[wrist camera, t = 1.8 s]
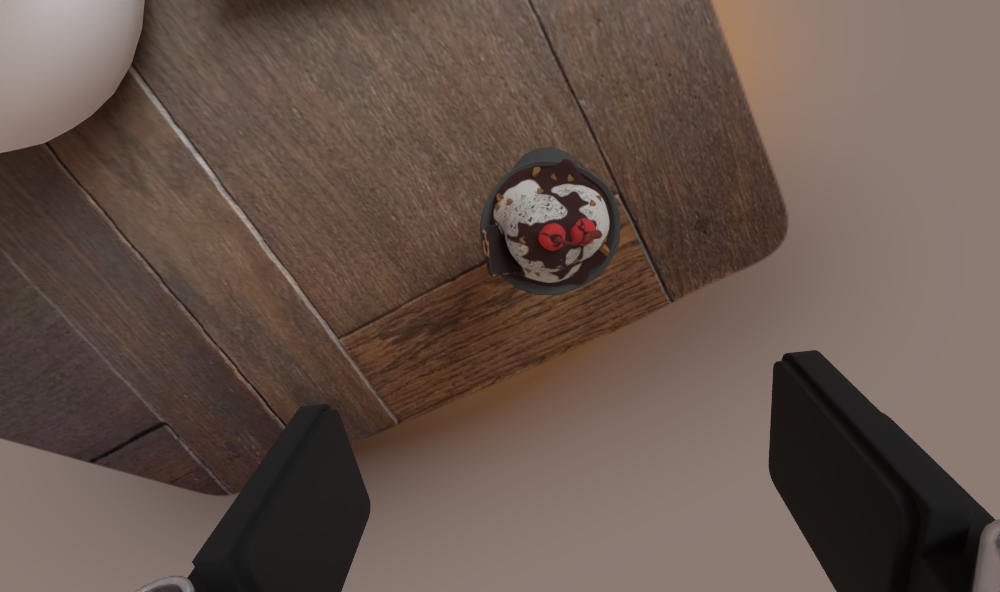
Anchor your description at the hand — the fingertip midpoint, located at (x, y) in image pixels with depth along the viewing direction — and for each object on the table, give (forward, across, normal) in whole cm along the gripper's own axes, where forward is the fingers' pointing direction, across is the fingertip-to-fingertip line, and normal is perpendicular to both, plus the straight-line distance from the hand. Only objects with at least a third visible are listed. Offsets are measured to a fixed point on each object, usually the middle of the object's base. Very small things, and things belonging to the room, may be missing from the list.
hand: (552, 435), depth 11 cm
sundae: (+25, 0, 0) cm, 25 cm away
